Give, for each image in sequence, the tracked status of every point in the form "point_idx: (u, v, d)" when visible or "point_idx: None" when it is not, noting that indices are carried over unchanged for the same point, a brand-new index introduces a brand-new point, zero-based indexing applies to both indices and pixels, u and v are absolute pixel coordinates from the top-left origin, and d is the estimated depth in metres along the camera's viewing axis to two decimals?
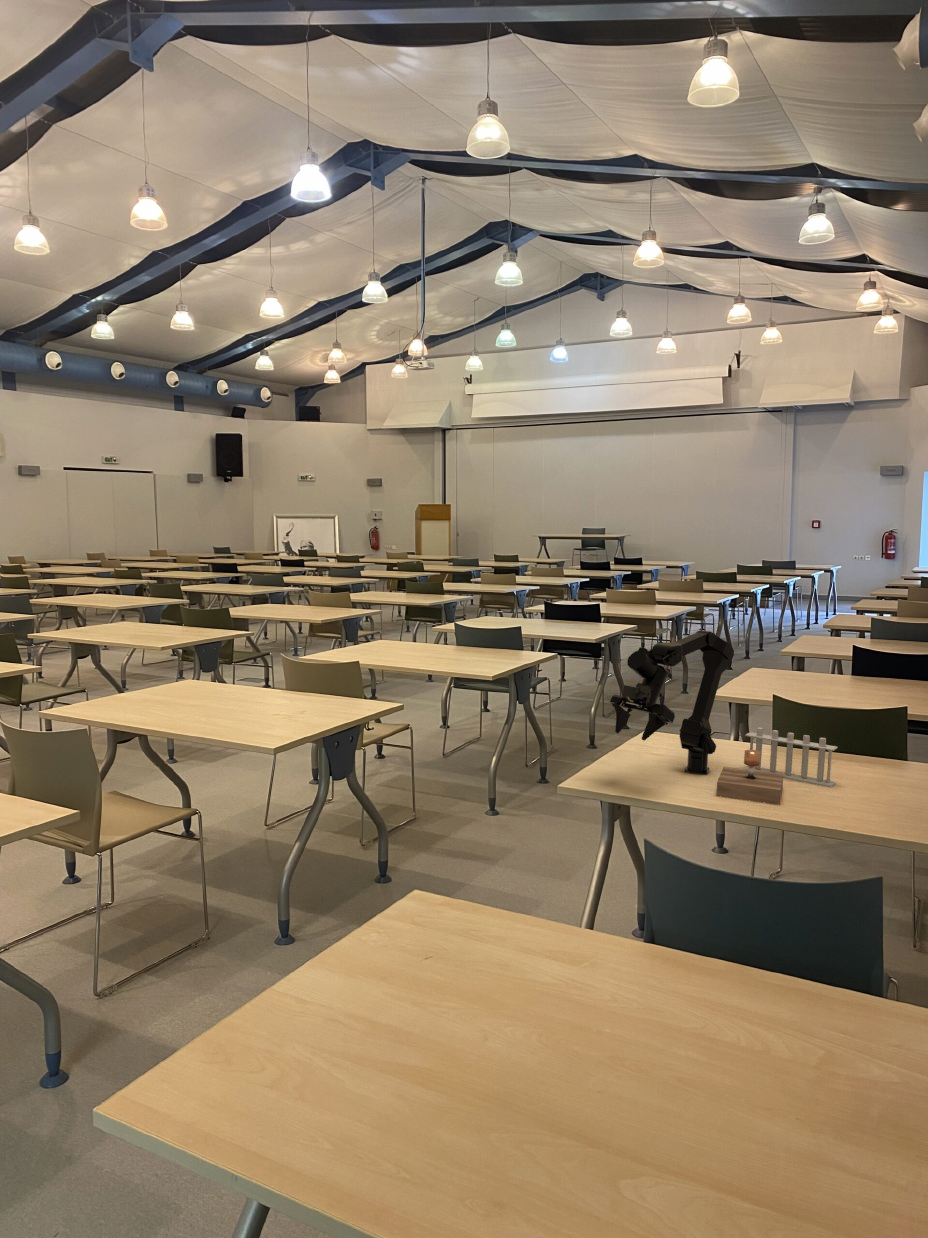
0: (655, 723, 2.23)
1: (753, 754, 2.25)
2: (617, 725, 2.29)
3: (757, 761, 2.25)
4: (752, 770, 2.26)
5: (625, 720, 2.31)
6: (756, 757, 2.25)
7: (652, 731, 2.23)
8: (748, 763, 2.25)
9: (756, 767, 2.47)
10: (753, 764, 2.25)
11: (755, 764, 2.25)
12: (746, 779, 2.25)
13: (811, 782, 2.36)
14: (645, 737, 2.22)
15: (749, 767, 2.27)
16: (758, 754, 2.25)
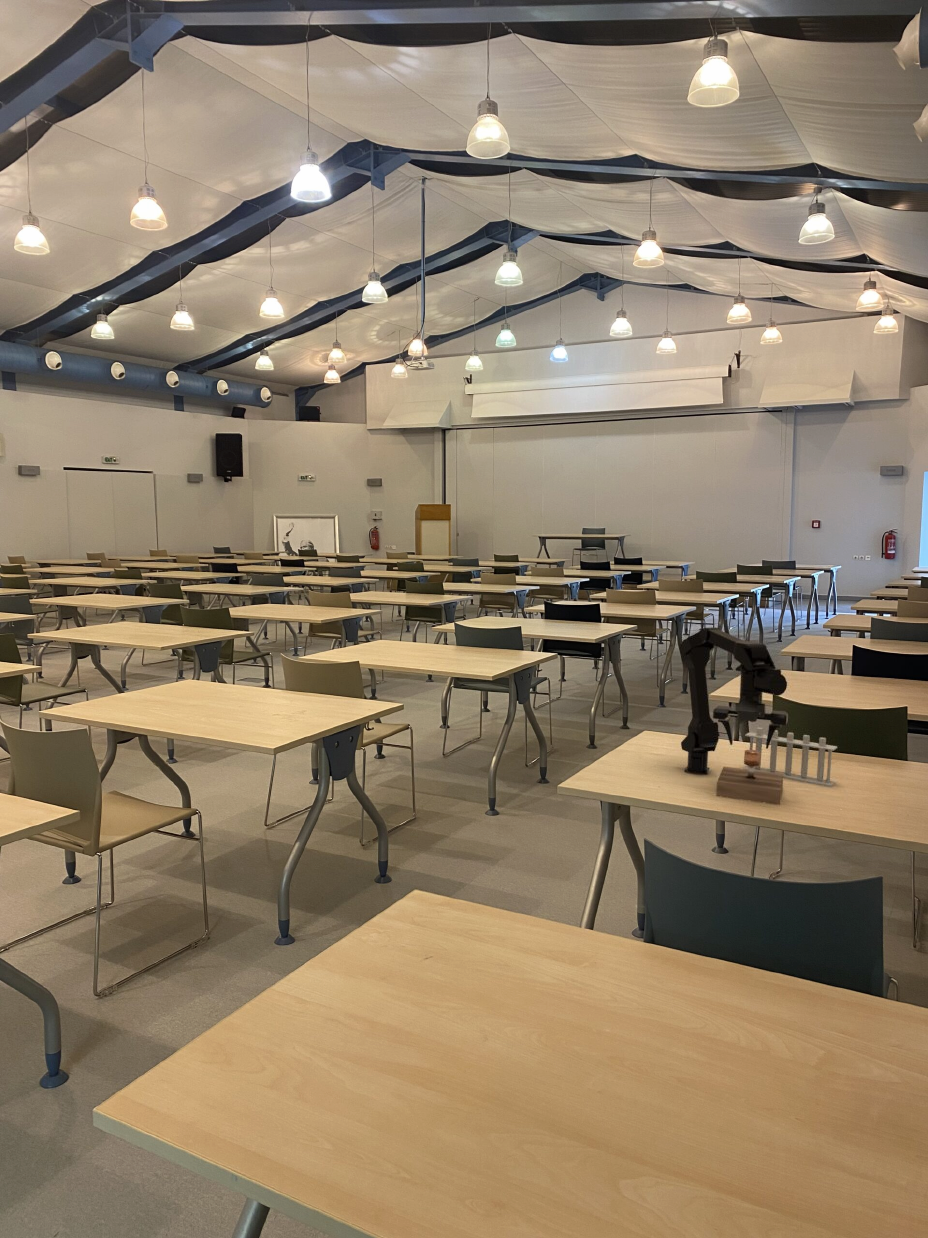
0: None
1: (753, 754, 2.25)
2: (730, 738, 2.26)
3: (757, 761, 2.25)
4: (752, 770, 2.26)
5: (731, 727, 2.28)
6: (756, 757, 2.25)
7: None
8: (748, 763, 2.25)
9: (755, 767, 2.47)
10: (753, 764, 2.25)
11: (755, 764, 2.25)
12: (746, 779, 2.25)
13: (811, 782, 2.36)
14: (768, 745, 2.23)
15: (749, 767, 2.27)
16: (758, 754, 2.25)
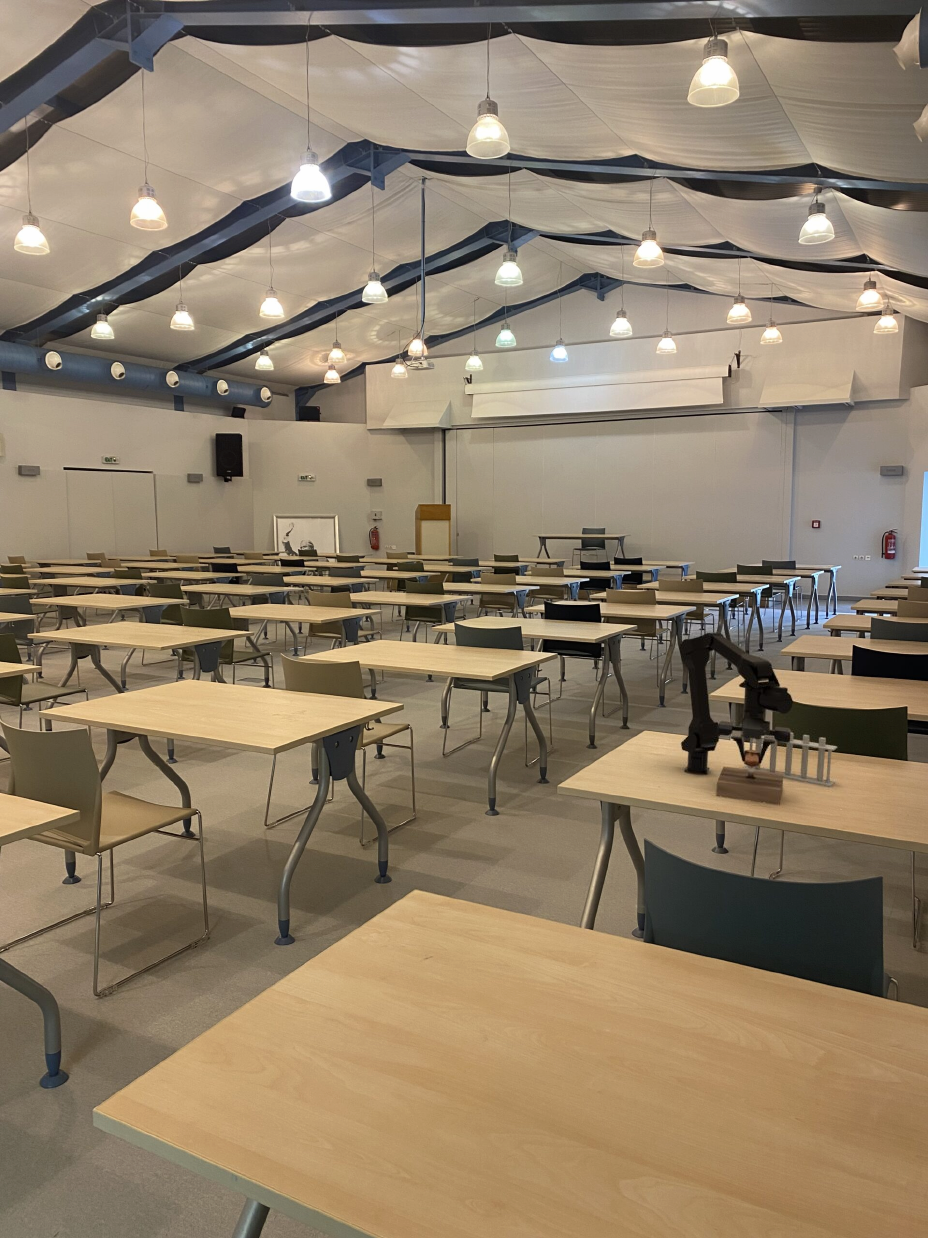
0: None
1: (753, 754, 2.25)
2: (743, 755, 2.27)
3: (757, 761, 2.25)
4: (752, 770, 2.26)
5: (743, 743, 2.29)
6: (756, 757, 2.25)
7: None
8: (748, 763, 2.25)
9: (755, 767, 2.47)
10: (753, 764, 2.25)
11: (755, 764, 2.25)
12: (746, 779, 2.25)
13: (811, 782, 2.36)
14: None
15: (749, 767, 2.27)
16: (758, 754, 2.25)
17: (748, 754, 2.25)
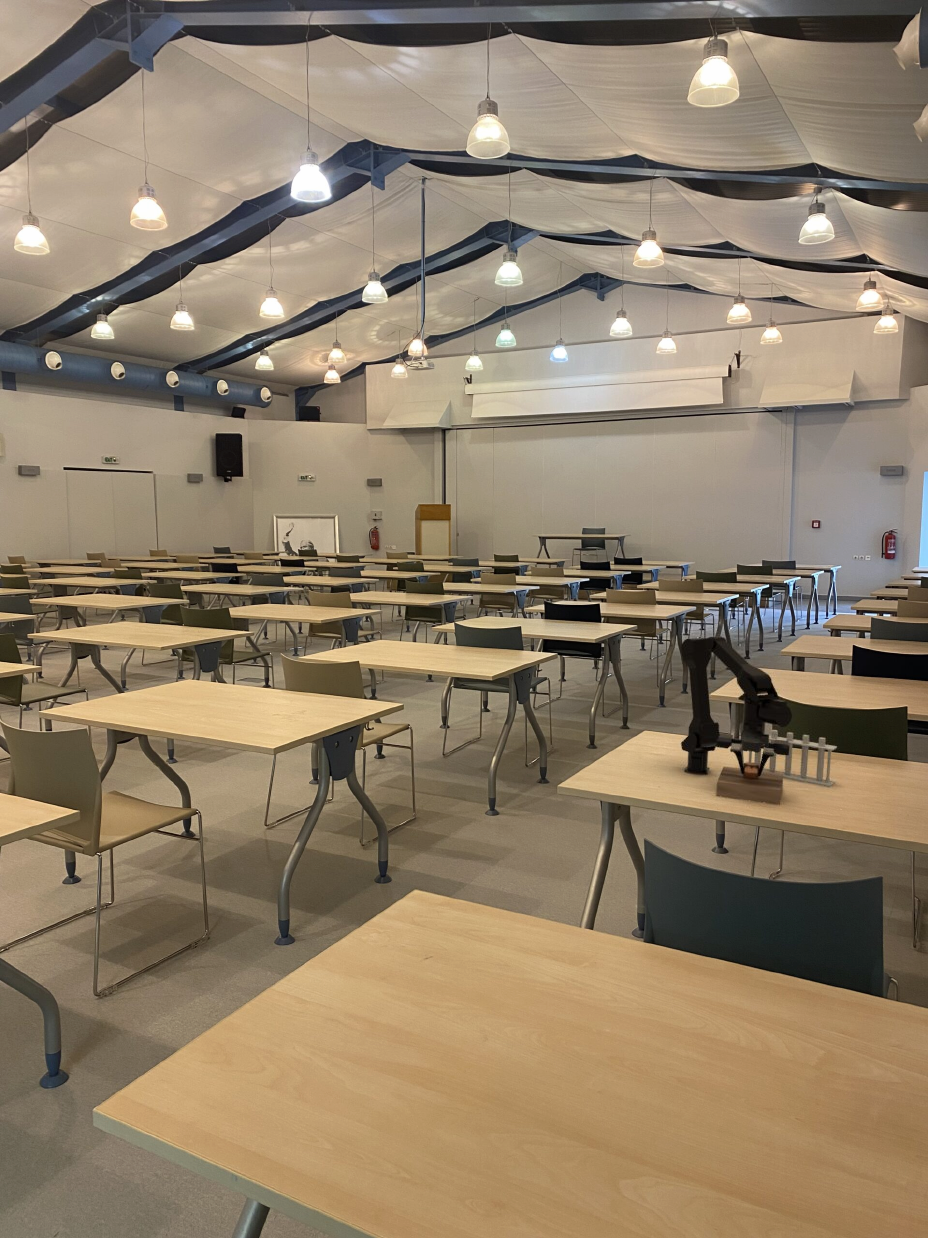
0: None
1: (752, 767, 2.25)
2: (742, 767, 2.27)
3: (756, 774, 2.25)
4: None
5: None
6: (755, 770, 2.25)
7: None
8: (747, 776, 2.26)
9: None
10: (752, 777, 2.25)
11: (754, 777, 2.25)
12: (746, 779, 2.25)
13: (810, 782, 2.37)
14: None
15: None
16: (757, 767, 2.25)
17: (747, 767, 2.26)
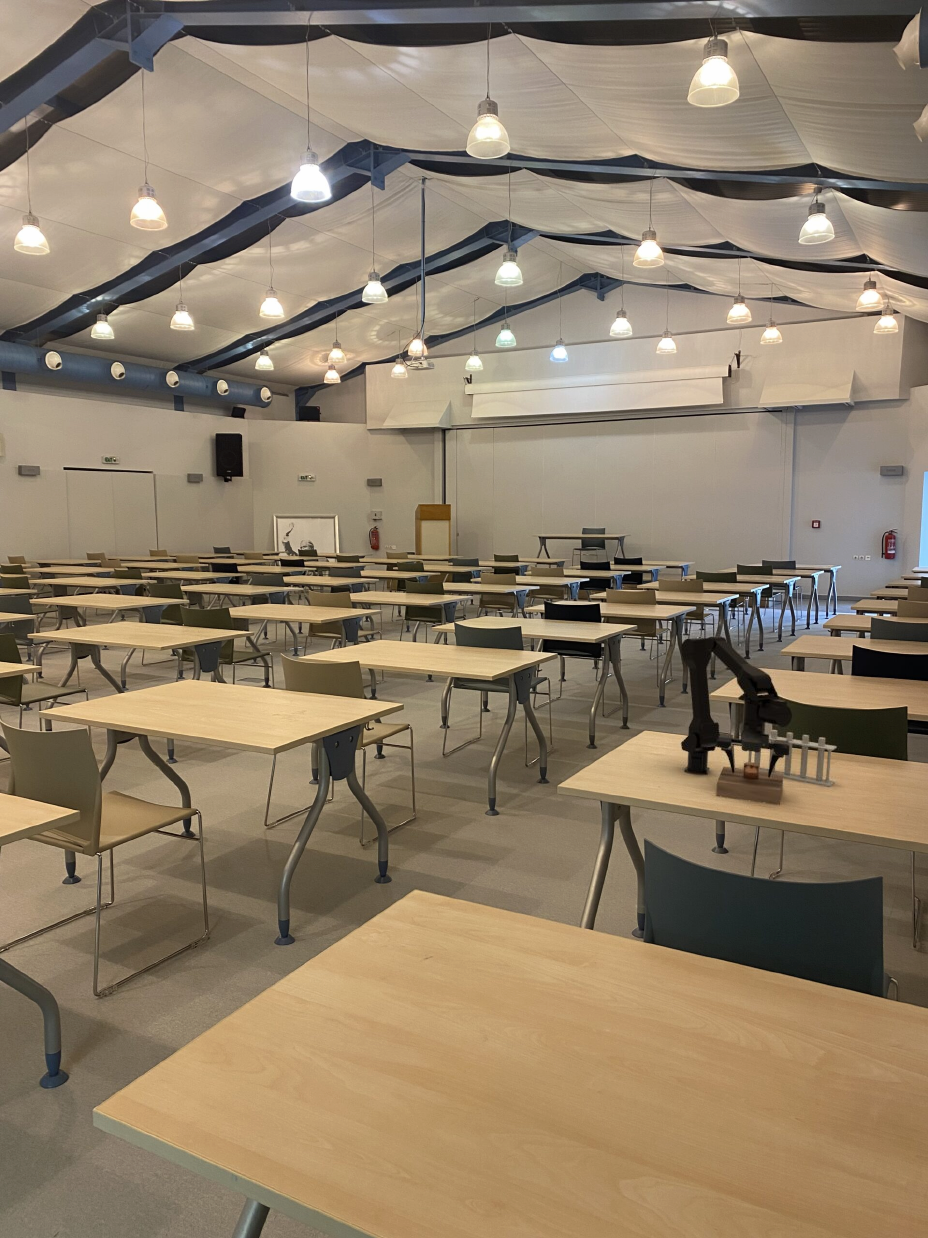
0: None
1: (752, 767, 2.25)
2: (733, 766, 2.28)
3: (756, 774, 2.25)
4: None
5: None
6: (755, 770, 2.25)
7: None
8: (747, 776, 2.26)
9: None
10: (752, 777, 2.25)
11: (754, 777, 2.25)
12: (746, 779, 2.25)
13: (810, 782, 2.37)
14: (770, 774, 2.25)
15: None
16: (757, 767, 2.25)
17: (747, 767, 2.26)
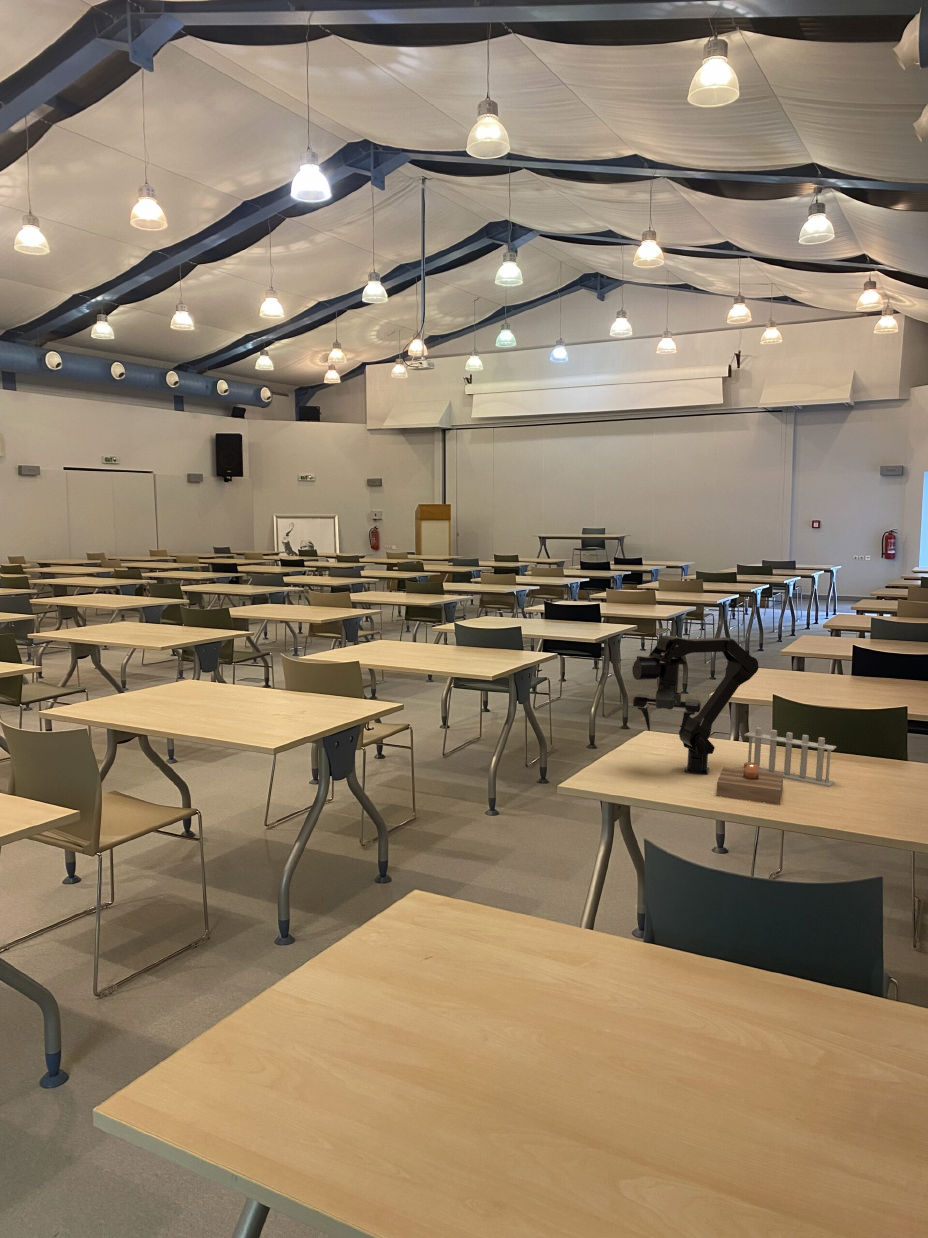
0: None
1: (752, 767, 2.25)
2: (648, 724, 2.43)
3: (756, 774, 2.25)
4: None
5: (649, 714, 2.45)
6: (755, 770, 2.25)
7: None
8: (747, 776, 2.26)
9: None
10: (752, 777, 2.25)
11: (754, 777, 2.25)
12: (746, 779, 2.25)
13: (810, 782, 2.37)
14: (683, 731, 2.41)
15: None
16: (757, 767, 2.25)
17: (747, 767, 2.26)
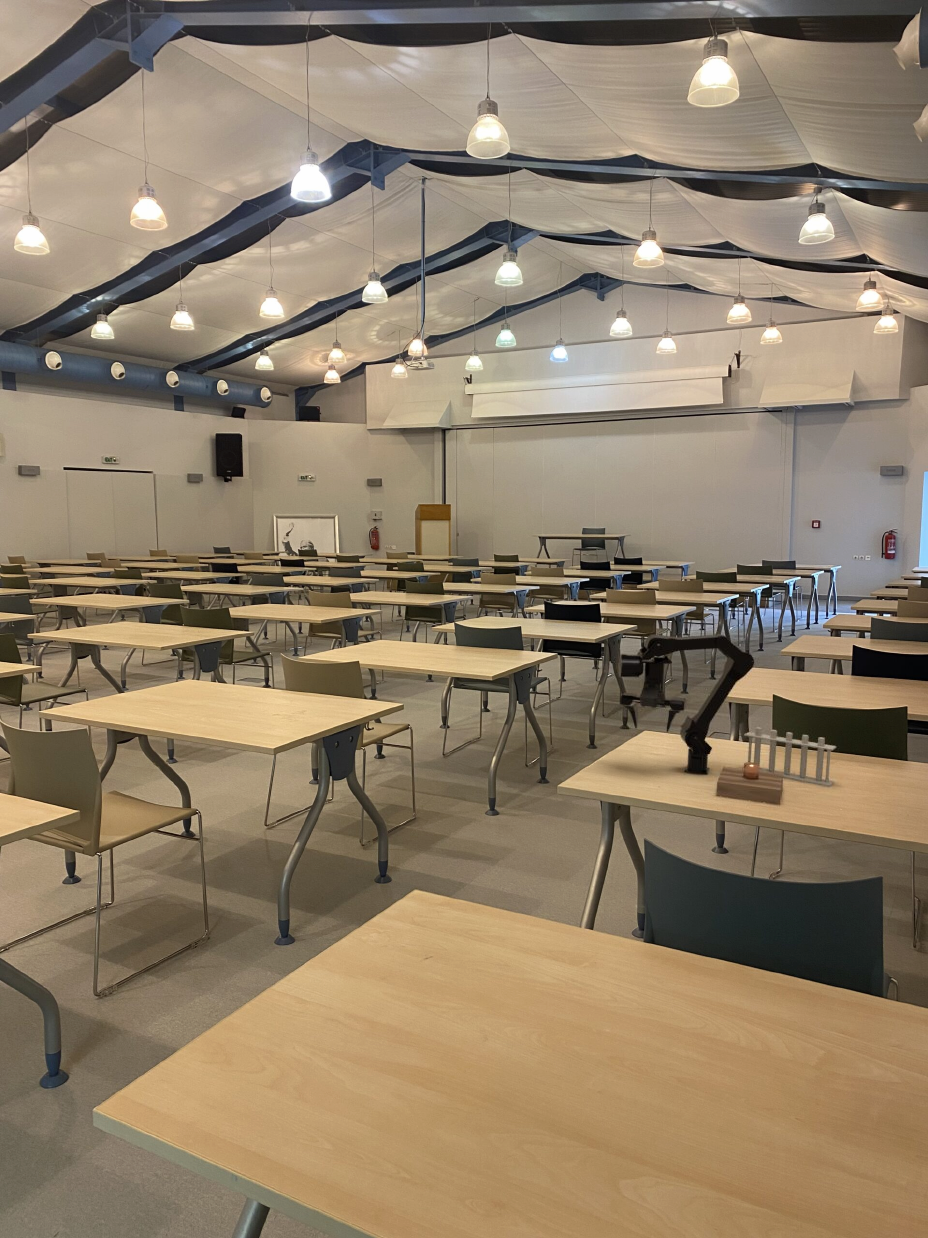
0: None
1: (752, 767, 2.25)
2: (635, 722, 2.47)
3: (756, 774, 2.25)
4: None
5: (637, 712, 2.49)
6: (755, 770, 2.25)
7: None
8: (747, 776, 2.26)
9: None
10: (752, 777, 2.25)
11: (754, 777, 2.25)
12: (746, 779, 2.25)
13: (810, 782, 2.37)
14: None
15: None
16: (757, 767, 2.25)
17: (747, 767, 2.26)
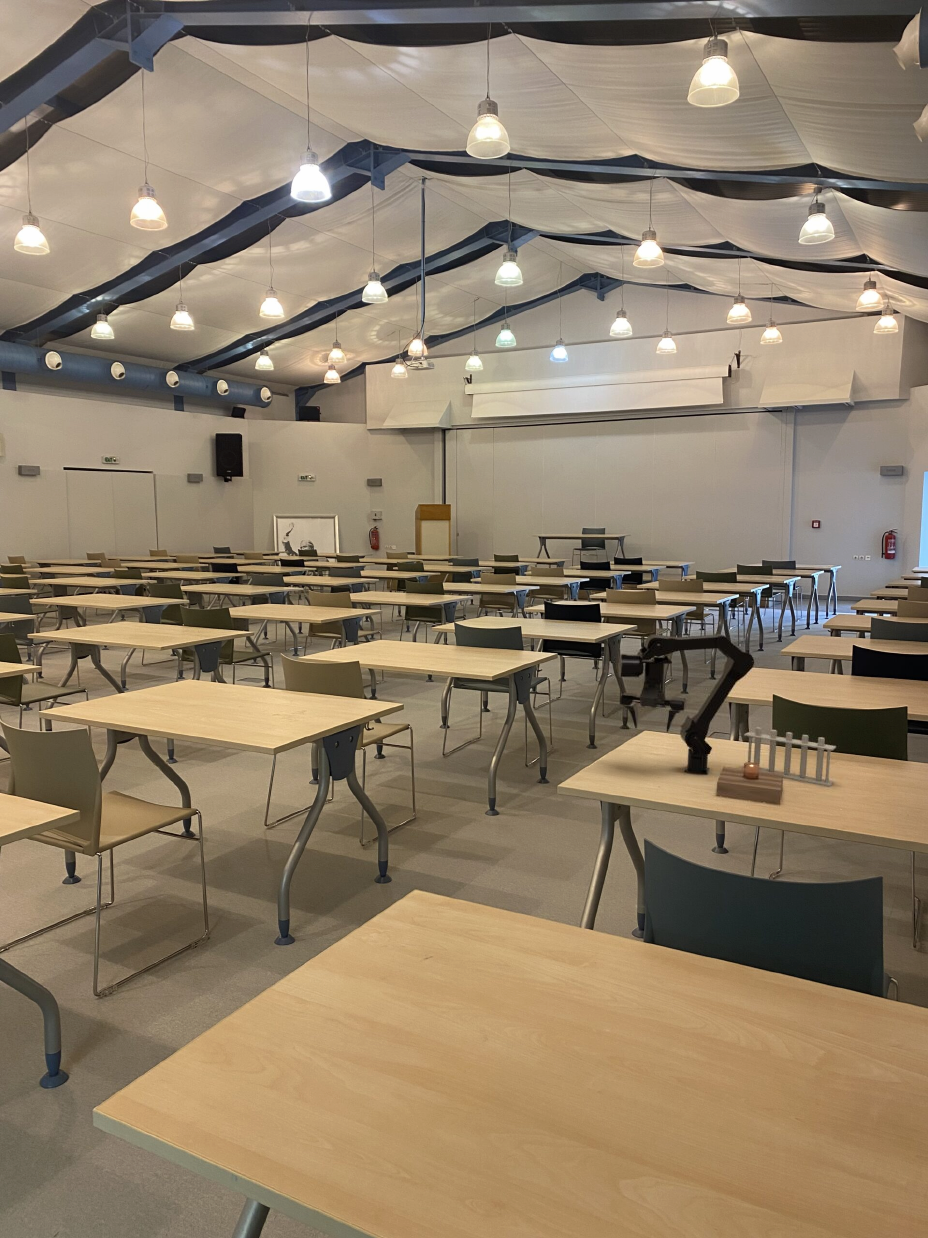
0: None
1: (752, 767, 2.25)
2: (635, 722, 2.47)
3: (756, 774, 2.25)
4: None
5: (637, 712, 2.49)
6: (755, 770, 2.25)
7: None
8: (747, 776, 2.26)
9: None
10: (752, 777, 2.25)
11: (754, 777, 2.25)
12: (746, 779, 2.25)
13: (810, 782, 2.37)
14: None
15: None
16: (757, 767, 2.25)
17: (747, 767, 2.26)
